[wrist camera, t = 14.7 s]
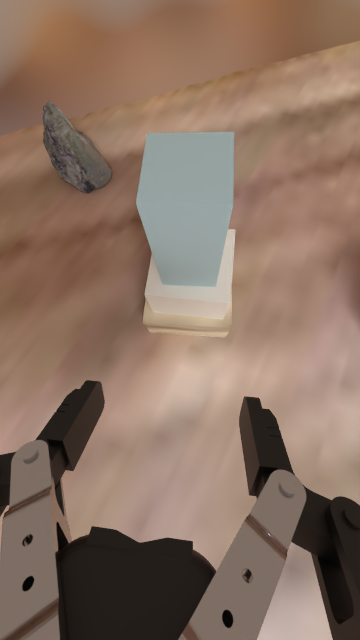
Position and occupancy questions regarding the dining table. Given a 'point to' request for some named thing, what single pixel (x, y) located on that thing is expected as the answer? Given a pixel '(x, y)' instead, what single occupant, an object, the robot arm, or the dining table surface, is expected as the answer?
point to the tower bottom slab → (187, 323)
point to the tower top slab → (194, 290)
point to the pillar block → (187, 203)
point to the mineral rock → (73, 152)
